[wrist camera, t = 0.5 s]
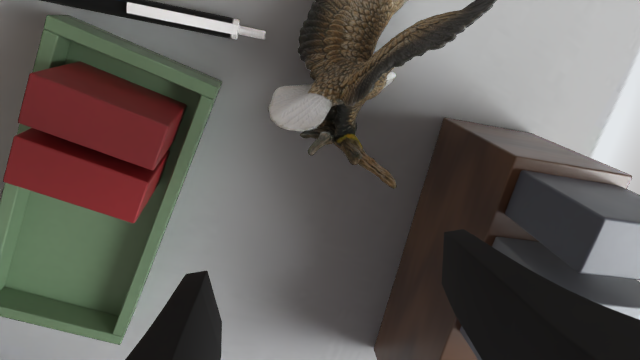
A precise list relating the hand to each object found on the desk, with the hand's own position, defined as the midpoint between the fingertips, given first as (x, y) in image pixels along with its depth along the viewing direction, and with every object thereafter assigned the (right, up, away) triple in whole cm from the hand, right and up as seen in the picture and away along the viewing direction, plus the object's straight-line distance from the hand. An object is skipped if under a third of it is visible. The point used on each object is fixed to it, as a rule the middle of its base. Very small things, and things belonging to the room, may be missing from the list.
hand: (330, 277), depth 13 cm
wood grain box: (+8, -1, +13) cm, 15 cm away
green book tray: (-12, +2, +9) cm, 15 cm away
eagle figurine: (+2, +9, +9) cm, 13 cm away
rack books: (-10, +6, +8) cm, 14 cm away
